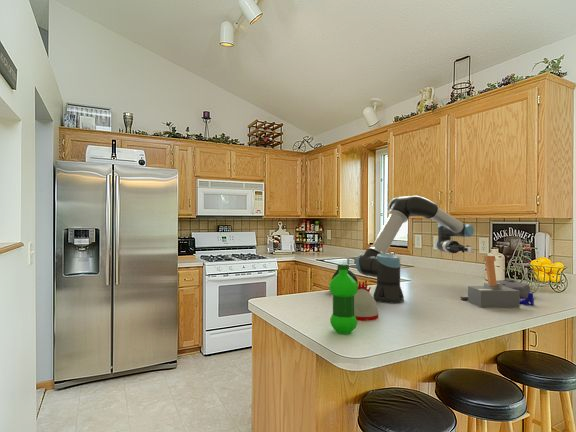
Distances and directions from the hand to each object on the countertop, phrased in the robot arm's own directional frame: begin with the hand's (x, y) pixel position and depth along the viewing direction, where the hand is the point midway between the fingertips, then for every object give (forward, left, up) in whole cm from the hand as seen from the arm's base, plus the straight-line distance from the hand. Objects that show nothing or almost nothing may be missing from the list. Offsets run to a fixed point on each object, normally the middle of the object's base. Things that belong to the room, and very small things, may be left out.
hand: (472, 250), depth 186 cm
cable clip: (+14, -16, -25) cm, 33 cm away
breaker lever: (0, -20, -17) cm, 26 cm away
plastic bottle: (-79, -61, -25) cm, 103 cm away
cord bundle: (0, -10, -25) cm, 27 cm away
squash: (-68, +10, -25) cm, 74 cm away
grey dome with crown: (-68, -40, -25) cm, 83 cm away
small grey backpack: (+21, +4, -25) cm, 33 cm away
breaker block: (0, -20, -25) cm, 32 cm away
